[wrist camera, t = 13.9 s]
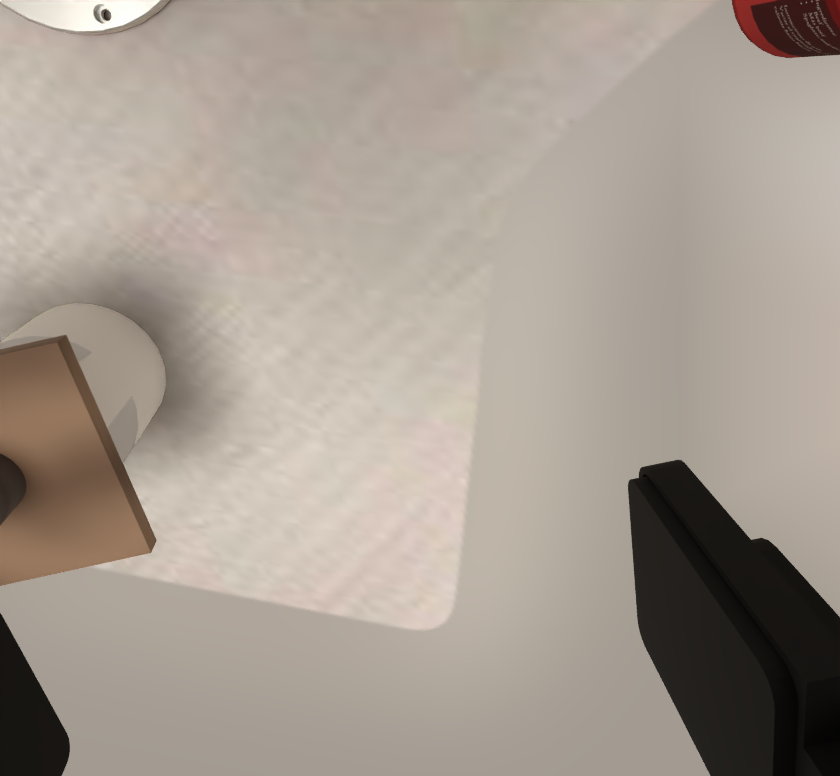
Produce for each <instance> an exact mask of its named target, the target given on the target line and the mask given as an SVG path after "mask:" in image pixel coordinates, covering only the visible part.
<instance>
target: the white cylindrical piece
mask: <svg viewBox="0 0 840 776" xmlns="http://www.w3.org/2000/svg"><path fill="white" fill-rule="evenodd" d="M62 335H67V337H68V340H69V342H70V344H71V347H72V349H73V351H74V353H75V356H76V358H77V360H78V363H79V365H80V367H81V369H82V372H83V374H84V376H85V378H86V381H87V383H88V385H89V388H90V390H91V392H92V394H93V397H94V399H95V401H96V404H97V406H98V408H99V410H100V413H101V415H102V417H103V420H104V422H105V424H106V426H107V429H108V431H109V433H110V435H111V438H112V440H113V442H114V445H115V447H116V449H117V451H118V454H119V456H120V458H121V461H122V463H123V462H124V461H125V460H126V458H127V457H128V455H129V454H130V452H131V450H132V449H133V447H134V446H135V444H136V443H137V441H138V439H139V438H140V436H141V435H142V433H143V431H144V430H145V428H146V427H147V425H148V424H149V422H150V420H151V419H152V417H153V416H154V414H155V412H156V411H157V409H158V408H159V406H160V404H161V403H162V400H163V396H164V392H165V388H166V374H165V366H164V363H163V361H162V358H161V355H160V352H159V350H158V348H157V347H156V346H155V344H154V343H153V341H152V340H151V338H150V337H149V335H148V334H147V333H146V332H145V331H144V330H143V329H141V328H140V327H139V326H138V325H137V324H136V323H135V322H134V321H133V320H131V319H129V318H127V317H125V316H124V315H122V314H120V313H118V312H117V311H115V310H112V309H108V308H105V307H102V306H98V305H95V304H80V303H72V304H67V305H62V306H57V307H53V308H51V309H49V310H47V311H45V312H43V313H41V314H39V315H38V316H36V317H35V318H33V319H32V320H30V321H29V322H28V323H26V324H25V325H23V326H22V327H21V328H19V329H18V330H16V331H15V332H13V333H12V334H11V335H9V336H8V337H6V338H5V339H3V340H2V341H1V342H0V349H4V348H8V347H13V346H17V345H22V344H26V343H31V342H35V341H40V340H44V339H49V338H53V337H58V336H62Z"/></svg>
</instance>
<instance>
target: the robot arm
mask: <svg viewBox="0 0 840 776" xmlns="http://www.w3.org/2000/svg"><path fill="white" fill-rule="evenodd" d="M169 1H170V0H0V4H2V5H3V6H4V7H6V8H8V9H9V10H11V11H13V12H15V13H16V14H18V15H20V16H22V17H23V18H25V19H27V20H29V21H31V22H34V23H37V24H40V25H42V26H45V27H48V28H51V29H53V30H58V31H63V32H68V33H73V34H89V35H100V34H107V33H114V32H120V31H123V30H125V29H128V28H130V27H133V26H136V25H138V24H141V23H143V22H144V21H145V20H147V19H148V18H150V17H151V16H153V15H154V14H156V13H157V12H159V11H160V10H161V9H162V8H163V7H164V6H165V5H166V4H167V3H168V2H169ZM106 10H109V11H110V12H111V14H112V18H111V20H109V21H107V20H105V18H104V12H105V11H106ZM628 492H629V505H630V521H631V535H632V548H633V562H634V576H635V590H636V604H637V617H638V625H639V630H640V634H641V637H642V640H643V643H644V645H645V647H646V649H647V651H648V653H649V655H650V657H651V659H652V661H653V663H654V665H655V667H656V669H657V671H658V673H659V675H660V677H661V679H662V681H663V683H664V685H665V687H666V689H667V691H668V693H669V694H670V697H671V699H672V700H673V703H674V704H675V706H676V708H677V710H678V712H679V714H680V716H681V718H682V720H683V722H684V724H685V726H686V728H687V730H688V732H689V734H690V736H691V738H692V740H693V742H694V744H695V746H696V748H697V750H698V752H699V754H700V756H701V758H702V760H703V762H704V763H705V766H706V768H707V770H708V771H709V773H710V775H711V776H840V617H839V616H838V615H837V614H836V613H835V612H834V610H833V609H832V608H831V607H830V606H829V605H828V604H827V603H826V601H825V600H824V599H823V598H822V597H821V596H820V595H819V594H818V593H817V591H816V590H815V589H814V588H813V587H812V586H811V585H810V584H809V583H808V582H807V580H806V579H805V578H804V577H803V576H802V575H801V574H800V573H799V572H798V570H797V569H796V568H795V567H794V566H793V565H792V564H791V563H790V562H789V561H788V560H787V558H786V557H785V556H784V555H783V554H782V553H781V552H780V551H779V550H778V548H777V547H776V546H774V545H773V544H772V543H771V542H770V541H769V540H766V539H763V538H759V539H754V540H751V539H750V538H749V537H748V536H747V535H746V534H745V532H744V531H743V530H742V529H741V528H740V527H739V525H737V523H736V522H735V521H734V520H733V519H732V517H731V516H730V515H729V514H728V513H727V512H726V510H725V509H724V508H723V507H722V506H721V505H720V503H719V502H718V501H717V500H716V499H715V498H714V497H713V496H712V494H711V493H710V492H709V491H708V489H707V488H706V487H705V486H704V485H703V484H702V483H701V481H700V480H699V479H698V478H697V477H696V476H695V474H694V473H693V472H692V471H691V470H690V469H689V468H688V467H687V465H686V464H685V463H684V462H683V461H681V460H675V461H670V462H665V463H660V464H655V465H651V466H645V467H642V468H641V469H640V472H639V478H636V479H631V480H630V481H629V483H628ZM69 752H70V744H69V738H68V735H67V733H66V731H65V729H64V727H63V726H62V724H61V722H60V720H59V718H58V717H57V715H56V713H55V711H54V709H53V707H52V706H51V704H50V702H49V700H48V698H47V696H46V695H45V693H44V691H43V689H42V687H41V686H40V684H39V682H38V680H37V678H36V677H35V675H34V673H33V671H32V669H31V667H30V666H29V664H28V662H27V660H26V658H25V657H24V655H23V653H22V651H21V649H20V647H19V646H18V644H17V642H16V640H15V639H14V637H13V635H12V633H11V631H10V629H9V627H8V626H7V624H6V622H5V620H4V618H3V617H2V615H1V614H0V776H61V775H62V773H63V771H64V768H65V766H66V764H67V761H68V758H69Z"/></svg>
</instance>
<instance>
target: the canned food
mask: <svg viewBox="0 0 840 776" xmlns="http://www.w3.org/2000/svg"><path fill="white" fill-rule="evenodd" d="M732 5H733V9H734V13H735V17H736V19H737V22H738V24H739V26H740V28H741V30H742V31H743V33H744V34H745V35H746V37H747V38H748V39H749V40H750V41H751V42H753V43H754V44H755V45H756V46H757V47H759V48H760V49H762V50H763V51H765V52H767V53H770V54H772V55H774V56H779V57H785V58H793V57H808V56H825V55H840V0H732Z"/></svg>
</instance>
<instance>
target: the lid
mask: <svg viewBox="0 0 840 776" xmlns="http://www.w3.org/2000/svg"><path fill="white" fill-rule="evenodd" d="M155 543H156V538H155V536H154V533H153V531H152V529H151V527H150V524H149V522H148V520H147V518H146V515H145V513H144V511H143V508H142V506H141V504H140V502H139V499H138V497H137V495H136V492H135V490H134V488H133V486H132V483H131V481H130V479H129V476H128V474H127V472H126V470H125V467H124V465H123V463H122V461H121V458H120V456H119V454H118V451H117V449H116V447H115V445H114V442H113V440H112V438H111V435H110V433H109V431H108V429H107V426H106V424H105V422H104V420H103V417H102V415H101V413H100V410H99V408H98V406H97V404H96V401H95V399H94V397H93V394H92V392H91V390H90V388H89V385H88V383H87V381H86V378H85V376H84V374H83V372H82V369H81V367H80V365H79V363H78V360H77V358H76V356H75V353H74V351H73V349H72V347H71V344H70V342H69V340H68V337H67V335H62V336H58V337H53V338H49V339H44V340H40V341H35V342H31V343H26V344H22V345H17V346H13V347H8V348H4V349H0V586H1V585H6V584H10V583H14V582H19V581H24V580H29V579H33V578H37V577H42V576H47V575H51V574H56V573H61V572H65V571H70V570H74V569H79V568H83V567H88V566H93V565H97V564H102V563H106V562H111V561H115V560H120V559H124V558H129V557H134V556H138V555H143V554H147V553H151V551H152V549H153V547H154V545H155Z"/></svg>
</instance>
